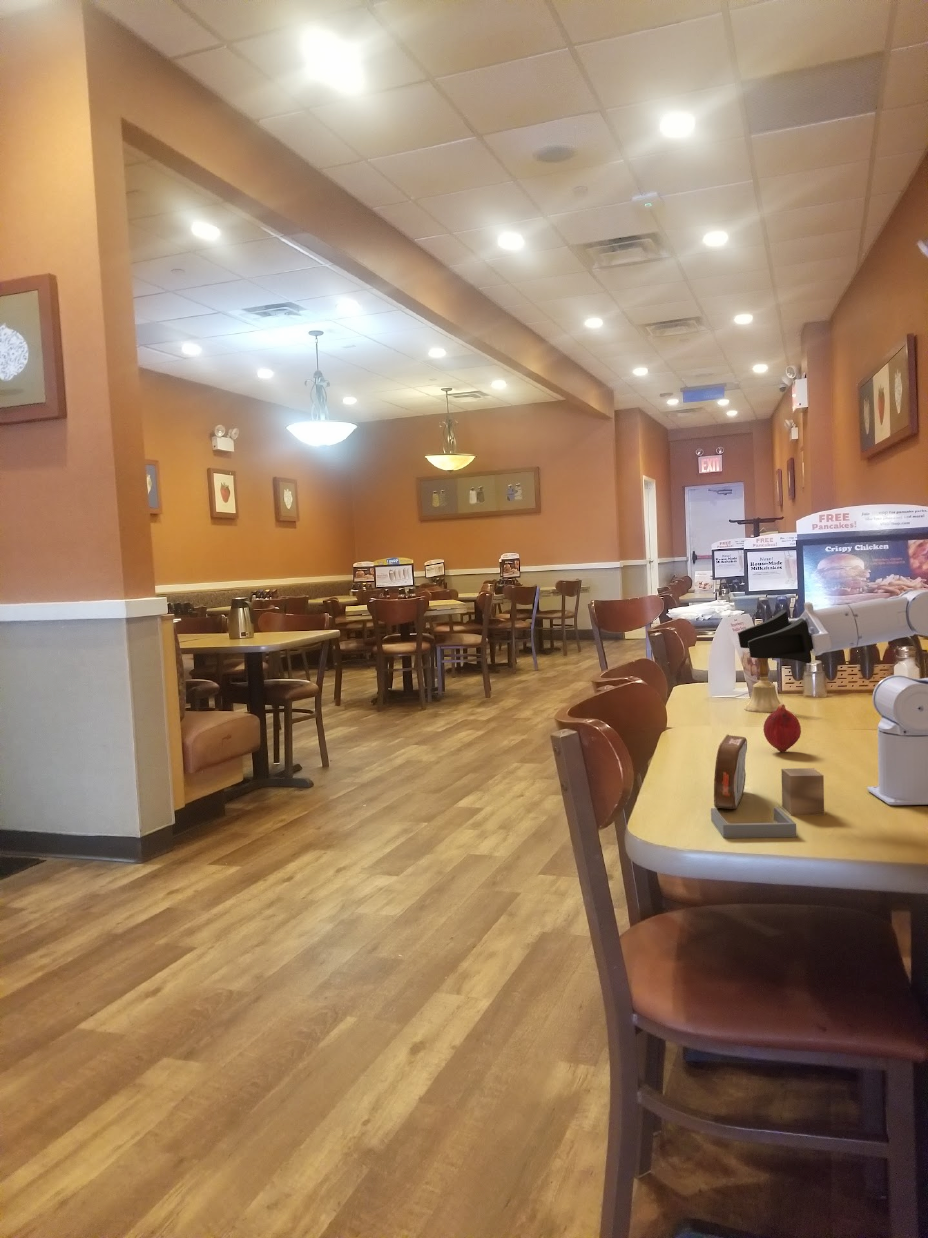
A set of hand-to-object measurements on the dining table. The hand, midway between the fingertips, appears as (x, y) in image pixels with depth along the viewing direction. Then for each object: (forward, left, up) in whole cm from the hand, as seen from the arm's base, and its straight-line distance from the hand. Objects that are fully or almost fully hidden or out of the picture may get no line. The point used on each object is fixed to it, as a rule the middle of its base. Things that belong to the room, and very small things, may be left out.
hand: (744, 644), depth 118 cm
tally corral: (+3, +14, -21) cm, 25 cm away
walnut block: (-5, +7, -21) cm, 22 cm away
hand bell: (-20, -71, -21) cm, 77 cm away
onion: (-12, -28, -21) cm, 37 cm away
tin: (+2, +2, -21) cm, 21 cm away
